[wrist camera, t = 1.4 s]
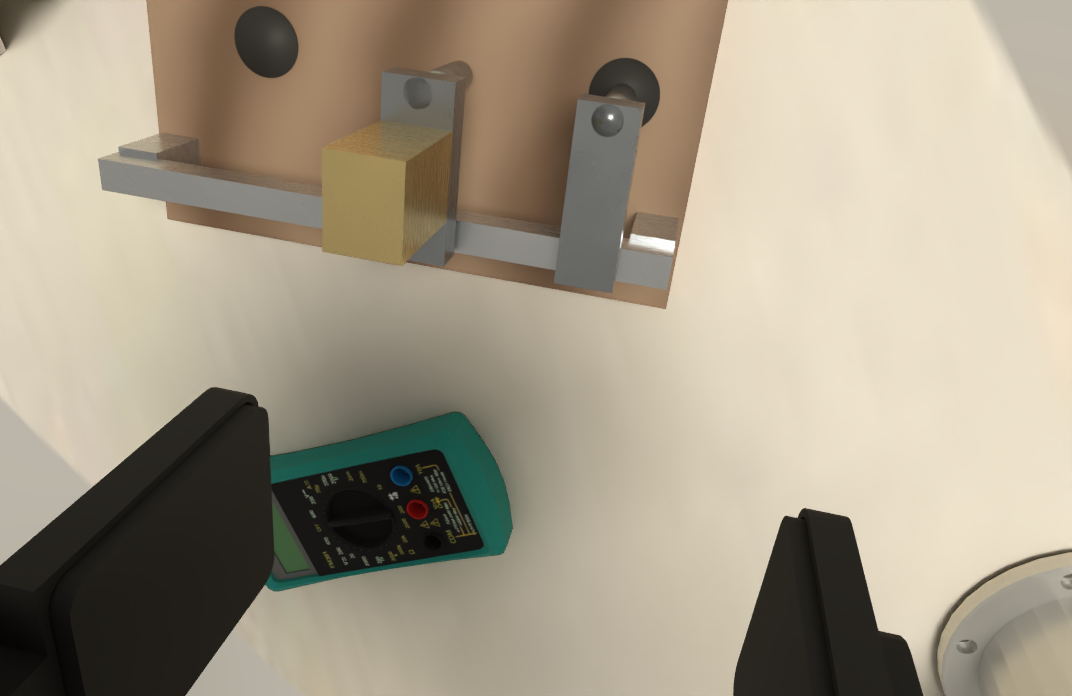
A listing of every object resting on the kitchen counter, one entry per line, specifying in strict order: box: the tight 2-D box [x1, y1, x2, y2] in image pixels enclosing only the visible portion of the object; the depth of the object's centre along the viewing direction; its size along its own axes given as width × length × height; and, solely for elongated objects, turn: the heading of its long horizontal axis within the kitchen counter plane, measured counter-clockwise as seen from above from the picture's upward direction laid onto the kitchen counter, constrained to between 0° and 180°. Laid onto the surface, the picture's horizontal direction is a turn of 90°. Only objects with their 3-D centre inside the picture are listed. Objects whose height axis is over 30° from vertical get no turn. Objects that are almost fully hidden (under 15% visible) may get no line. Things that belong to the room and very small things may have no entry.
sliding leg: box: [322, 60, 473, 267], centre depth 27 cm, size 2×6×9 cm, turn 173°
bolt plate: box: [98, 0, 728, 309], centre depth 30 cm, size 22×12×7 cm, turn 83°
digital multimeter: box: [265, 412, 513, 591], centre depth 41 cm, size 7×15×3 cm, turn 110°
